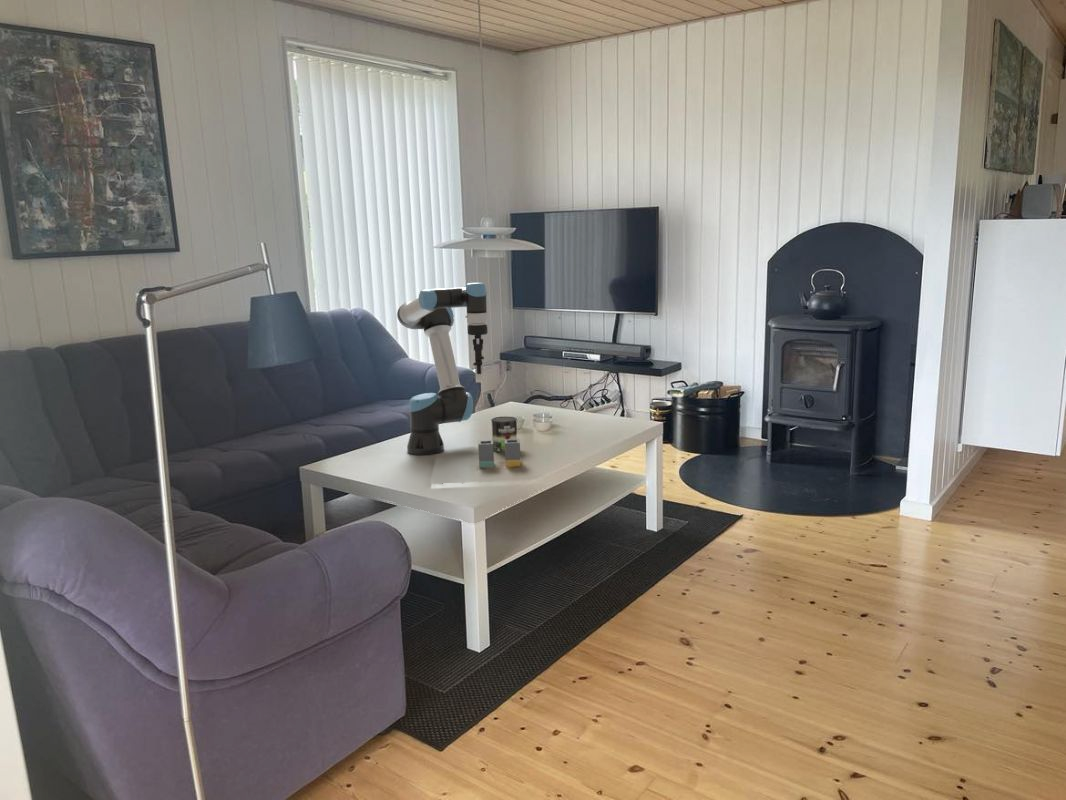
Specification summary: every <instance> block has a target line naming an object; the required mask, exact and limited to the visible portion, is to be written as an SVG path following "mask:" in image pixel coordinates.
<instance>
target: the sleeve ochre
mask: <svg viewBox="0 0 1066 800" xmlns="http://www.w3.org/2000/svg"><path fill="white" fill-rule="evenodd" d="M504 461H505V465H506V467H510V466H521V463H520V461H521V441H520V439H519V438H517V439H513V440H505V452H504Z"/></svg>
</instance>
